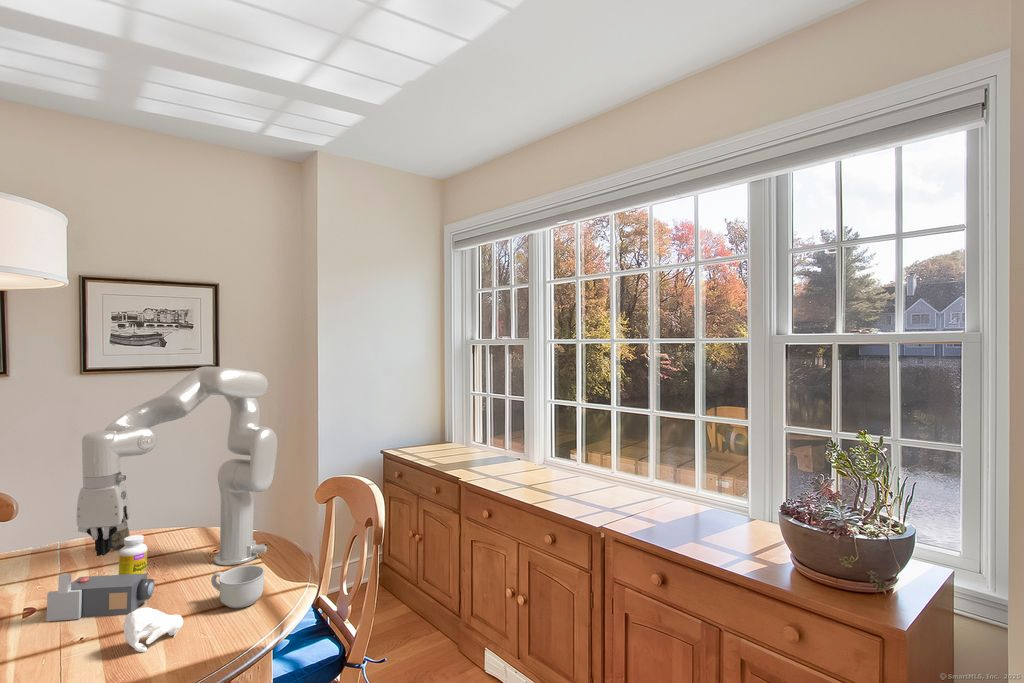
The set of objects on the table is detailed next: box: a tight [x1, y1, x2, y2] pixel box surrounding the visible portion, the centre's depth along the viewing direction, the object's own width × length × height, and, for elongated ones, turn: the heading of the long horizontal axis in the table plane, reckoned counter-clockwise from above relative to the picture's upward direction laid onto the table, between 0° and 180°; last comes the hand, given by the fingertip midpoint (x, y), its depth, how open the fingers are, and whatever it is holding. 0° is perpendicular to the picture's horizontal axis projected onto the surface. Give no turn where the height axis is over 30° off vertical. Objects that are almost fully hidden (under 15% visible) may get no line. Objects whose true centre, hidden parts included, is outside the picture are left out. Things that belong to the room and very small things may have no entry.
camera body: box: [71, 573, 155, 618], centre depth 139 cm, size 18×8×8 cm, turn 100°
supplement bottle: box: [118, 534, 149, 575], centre depth 155 cm, size 7×7×13 cm
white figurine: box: [122, 607, 184, 653], centre depth 124 cm, size 6×8×12 cm
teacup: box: [210, 564, 265, 609], centre depth 144 cm, size 14×11×8 cm
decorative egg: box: [111, 526, 131, 550], centre depth 180 cm, size 6×6×10 cm
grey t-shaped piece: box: [46, 572, 82, 622], centre depth 133 cm, size 7×1×11 cm, turn 100°
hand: (103, 553), depth 136 cm, fingers closed
